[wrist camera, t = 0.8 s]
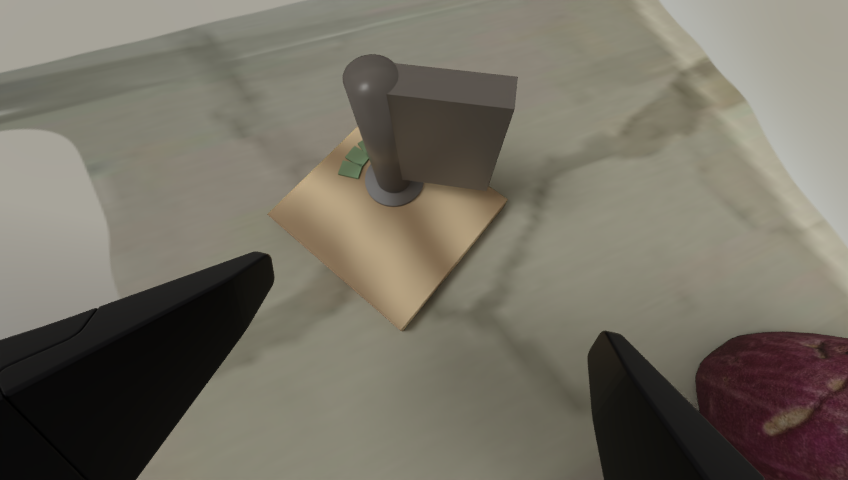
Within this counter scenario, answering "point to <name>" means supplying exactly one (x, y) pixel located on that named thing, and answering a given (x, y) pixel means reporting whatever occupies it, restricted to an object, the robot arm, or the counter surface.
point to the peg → (429, 121)
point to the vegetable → (781, 402)
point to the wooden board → (384, 229)
